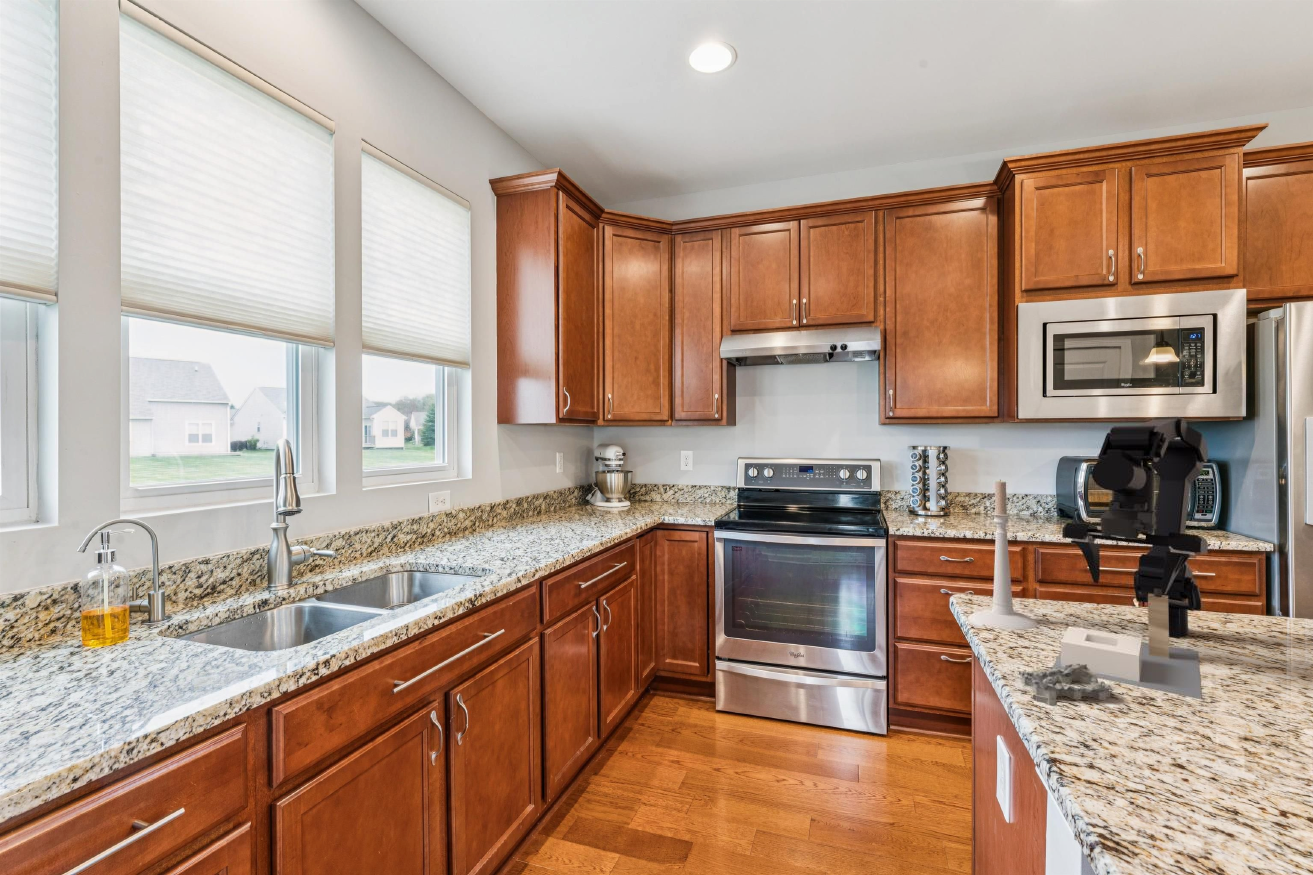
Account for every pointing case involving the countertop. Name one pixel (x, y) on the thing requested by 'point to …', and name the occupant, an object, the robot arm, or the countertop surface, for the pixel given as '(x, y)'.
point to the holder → (1103, 652)
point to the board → (1164, 672)
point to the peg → (1158, 624)
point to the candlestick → (1001, 577)
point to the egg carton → (1052, 687)
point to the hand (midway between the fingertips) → (1128, 588)
